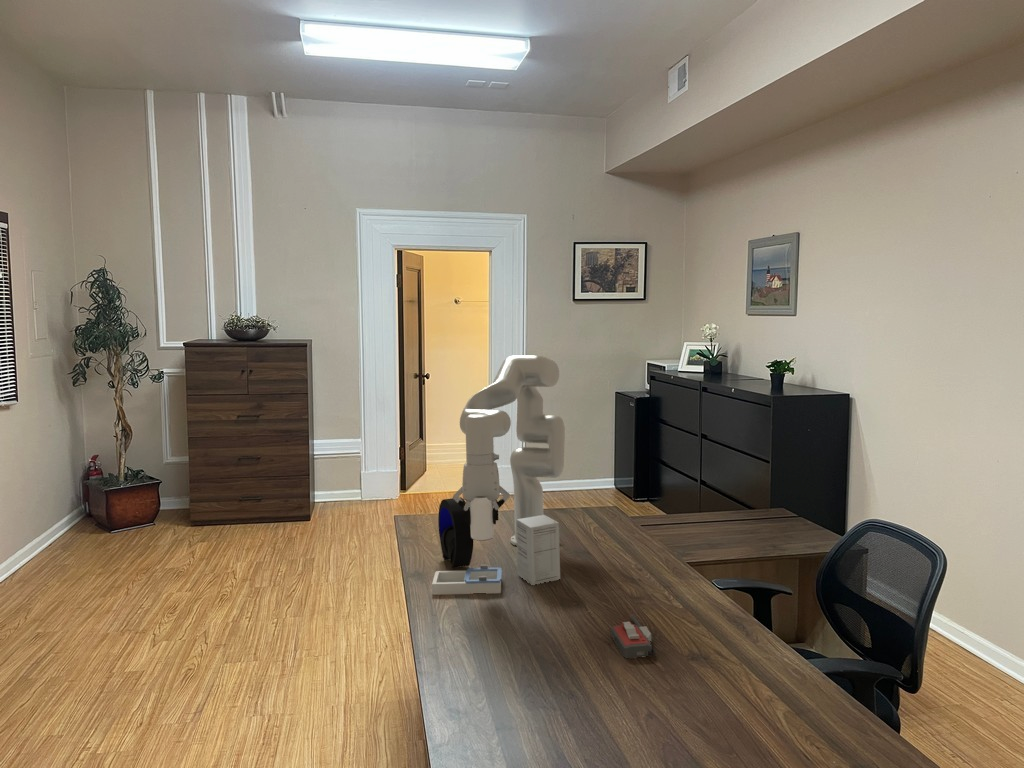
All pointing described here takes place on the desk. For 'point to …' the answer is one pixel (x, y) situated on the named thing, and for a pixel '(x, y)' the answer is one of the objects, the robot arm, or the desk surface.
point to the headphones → (454, 533)
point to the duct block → (467, 581)
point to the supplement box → (538, 549)
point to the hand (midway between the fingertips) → (482, 522)
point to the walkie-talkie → (632, 639)
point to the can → (481, 519)
